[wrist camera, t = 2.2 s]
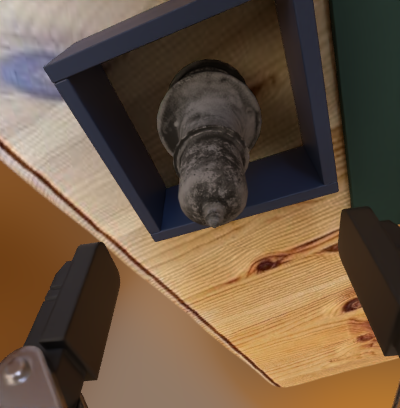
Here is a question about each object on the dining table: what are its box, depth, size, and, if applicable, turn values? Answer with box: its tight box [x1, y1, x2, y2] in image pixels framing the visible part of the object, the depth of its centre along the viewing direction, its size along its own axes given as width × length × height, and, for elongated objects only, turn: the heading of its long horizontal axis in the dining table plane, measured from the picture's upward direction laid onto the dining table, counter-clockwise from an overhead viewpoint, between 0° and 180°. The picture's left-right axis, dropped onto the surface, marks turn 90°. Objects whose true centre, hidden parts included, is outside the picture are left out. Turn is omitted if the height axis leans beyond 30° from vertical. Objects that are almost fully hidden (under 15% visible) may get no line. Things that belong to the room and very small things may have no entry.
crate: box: [43, 0, 339, 242], centre depth 19 cm, size 12×12×5 cm
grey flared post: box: [157, 59, 262, 228], centre depth 16 cm, size 6×6×12 cm
